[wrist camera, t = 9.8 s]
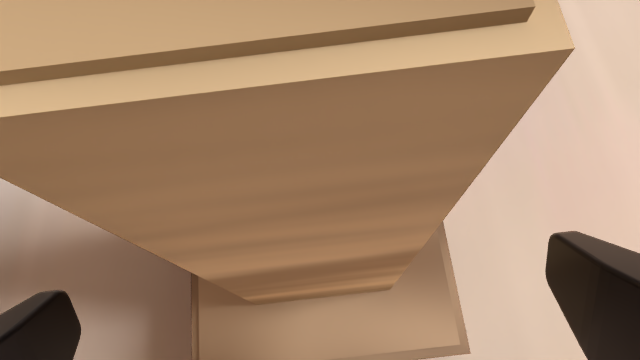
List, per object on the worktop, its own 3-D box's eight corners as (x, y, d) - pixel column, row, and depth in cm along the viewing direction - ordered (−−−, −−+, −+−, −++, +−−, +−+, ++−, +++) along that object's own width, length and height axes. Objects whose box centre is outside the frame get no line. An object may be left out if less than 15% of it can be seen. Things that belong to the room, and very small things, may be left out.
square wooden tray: (450, 352, 17) (471, 353, 14) (216, 379, 17) (190, 385, 14) (408, 140, 20) (419, 105, 18) (211, 163, 21) (189, 133, 18)
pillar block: (390, 289, 15) (586, 33, 3) (256, 305, 15) (-119, 117, 3) (370, 166, 17) (441, -344, 4) (249, 180, 17) (-12, -284, 4)
